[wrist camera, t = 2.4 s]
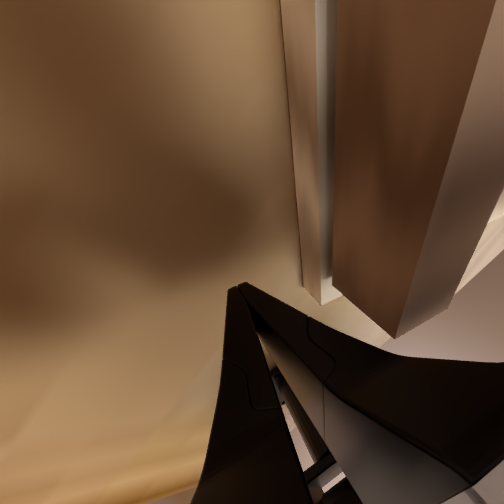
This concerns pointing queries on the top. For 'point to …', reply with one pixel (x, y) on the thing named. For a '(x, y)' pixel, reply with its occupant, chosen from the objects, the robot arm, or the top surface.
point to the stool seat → (316, 134)
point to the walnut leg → (414, 150)
